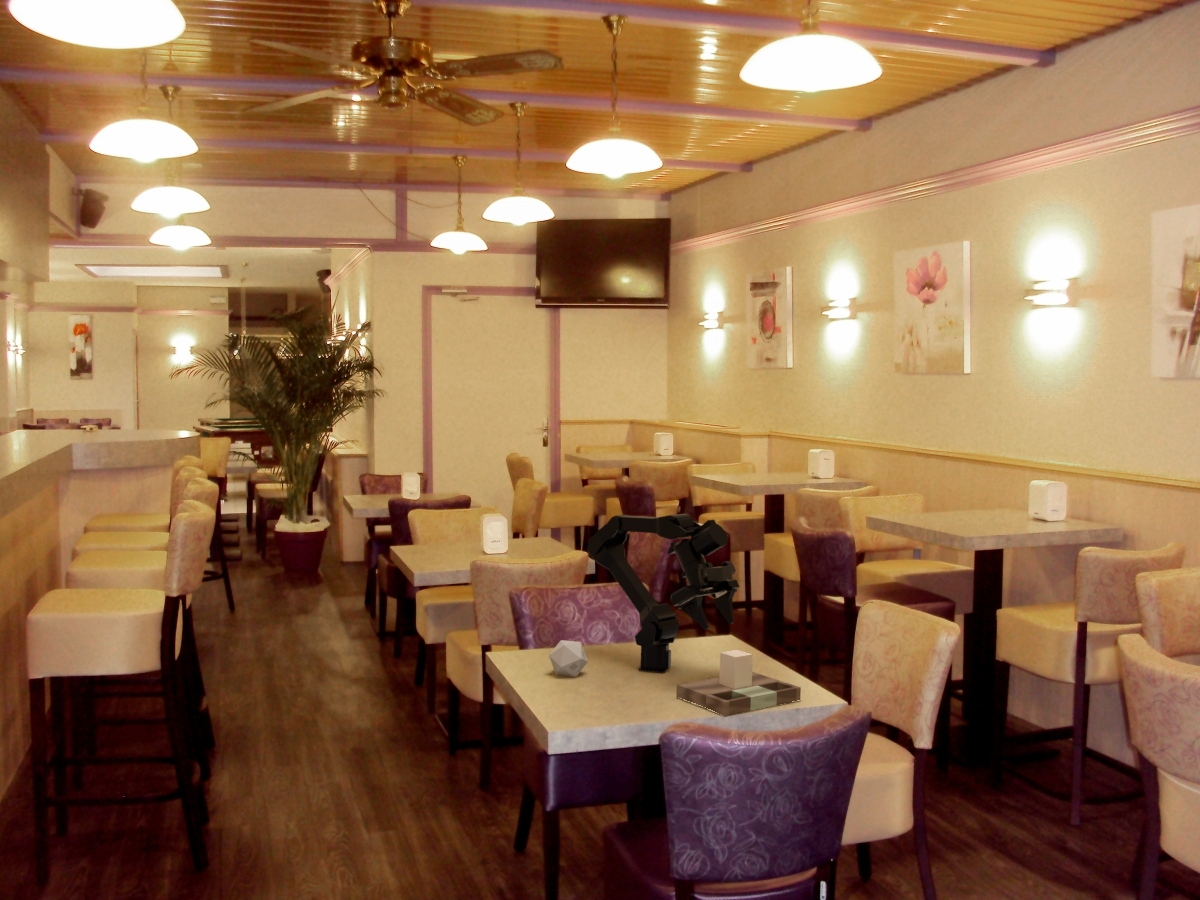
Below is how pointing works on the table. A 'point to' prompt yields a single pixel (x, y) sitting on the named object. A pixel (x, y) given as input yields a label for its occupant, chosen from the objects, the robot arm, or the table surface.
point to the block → (735, 669)
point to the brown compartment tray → (738, 694)
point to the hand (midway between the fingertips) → (719, 626)
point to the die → (568, 658)
